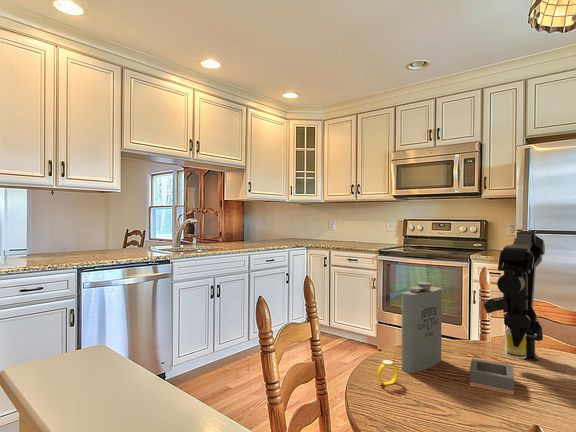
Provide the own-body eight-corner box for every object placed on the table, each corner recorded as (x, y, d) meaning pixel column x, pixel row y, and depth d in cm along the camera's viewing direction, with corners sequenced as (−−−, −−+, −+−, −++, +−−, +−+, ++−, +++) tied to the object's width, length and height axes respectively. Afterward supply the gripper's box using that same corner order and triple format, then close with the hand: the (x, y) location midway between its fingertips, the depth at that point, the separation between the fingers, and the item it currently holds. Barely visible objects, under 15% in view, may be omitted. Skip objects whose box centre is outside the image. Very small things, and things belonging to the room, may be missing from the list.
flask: (413, 375, 103) (413, 286, 103) (399, 369, 106) (399, 284, 107) (445, 361, 113) (446, 280, 114) (432, 356, 117) (432, 278, 117)
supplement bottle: (530, 359, 104) (529, 325, 104) (509, 359, 104) (509, 324, 104) (521, 352, 109) (520, 320, 109) (501, 352, 110) (501, 319, 110)
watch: (381, 388, 95) (380, 366, 95) (375, 384, 98) (374, 362, 97) (400, 383, 97) (399, 361, 97) (394, 379, 100) (393, 357, 100)
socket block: (471, 372, 105) (471, 358, 105) (512, 380, 100) (512, 365, 100) (469, 385, 96) (469, 370, 97) (514, 395, 92) (514, 379, 92)
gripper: (485, 283, 119) (485, 331, 119) (483, 292, 103) (483, 348, 103) (526, 286, 113) (526, 336, 113) (531, 297, 97) (530, 356, 97)
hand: (515, 343), depth 107 cm, fingers closed on supplement bottle, 5 cm apart
